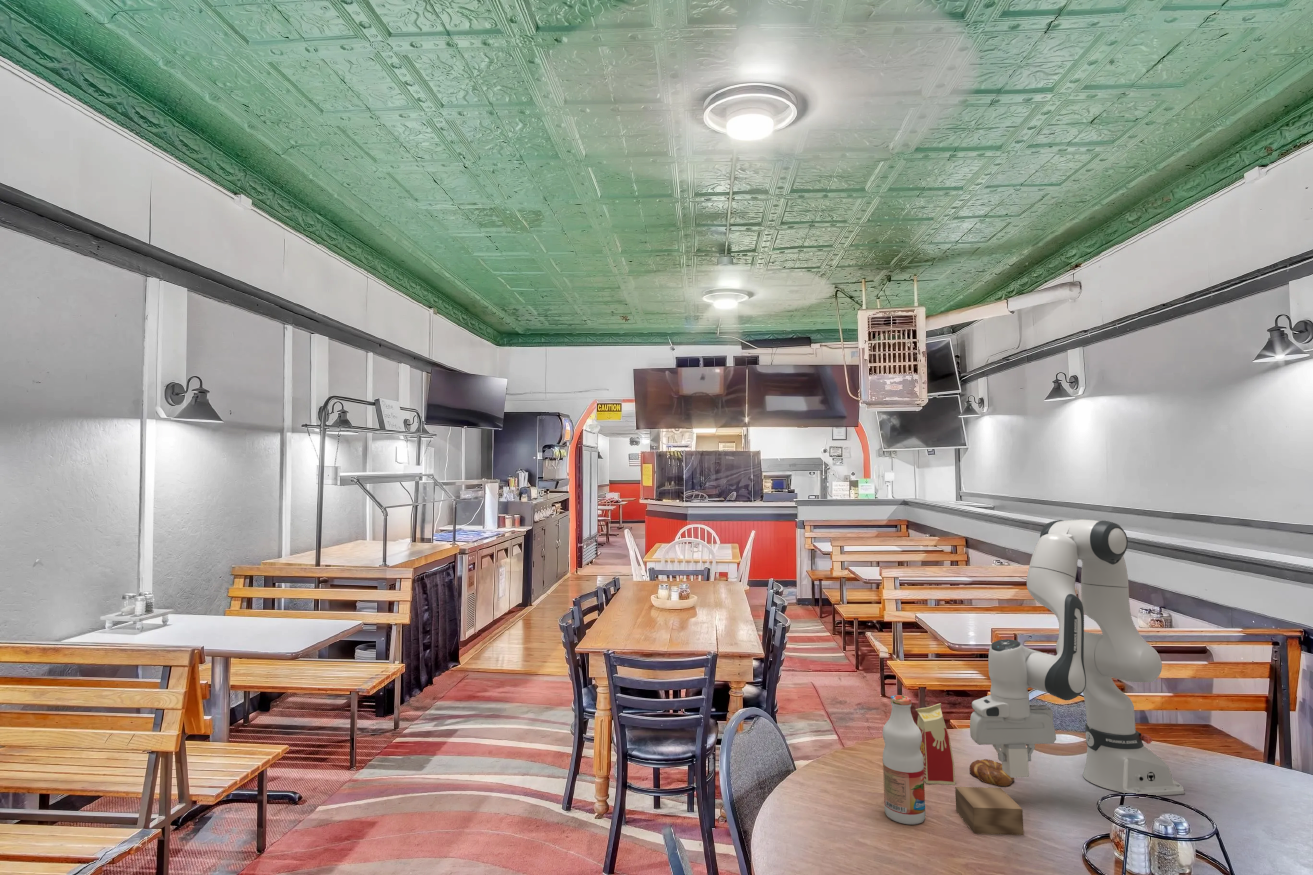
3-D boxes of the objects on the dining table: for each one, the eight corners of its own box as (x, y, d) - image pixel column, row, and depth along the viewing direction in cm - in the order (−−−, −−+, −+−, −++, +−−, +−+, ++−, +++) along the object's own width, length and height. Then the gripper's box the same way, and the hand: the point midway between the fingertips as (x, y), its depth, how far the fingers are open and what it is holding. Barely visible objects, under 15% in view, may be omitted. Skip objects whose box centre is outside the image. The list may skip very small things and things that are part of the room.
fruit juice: (883, 804, 165) (880, 690, 168) (923, 809, 162) (919, 693, 165) (885, 822, 156) (881, 701, 159) (927, 828, 153) (922, 705, 156)
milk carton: (945, 771, 185) (942, 698, 187) (957, 785, 176) (953, 708, 178) (912, 769, 186) (909, 697, 188) (922, 783, 177) (919, 707, 179)
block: (1002, 813, 161) (1000, 787, 162) (1023, 836, 150) (1022, 808, 151) (956, 811, 162) (955, 786, 162) (974, 834, 151) (973, 807, 151)
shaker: (1020, 769, 169) (1018, 737, 170) (1029, 777, 165) (1026, 744, 165) (1002, 769, 170) (999, 737, 170) (1010, 777, 165) (1008, 744, 166)
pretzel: (1024, 788, 175) (1023, 774, 175) (982, 788, 175) (982, 773, 176) (1002, 769, 187) (1001, 756, 187) (963, 768, 187) (963, 755, 187)
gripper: (1045, 700, 171) (1049, 754, 170) (965, 702, 172) (969, 756, 171) (1058, 708, 165) (1063, 765, 164) (975, 710, 166) (979, 766, 165)
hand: (1014, 760), depth 167 cm, fingers closed on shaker, 5 cm apart
